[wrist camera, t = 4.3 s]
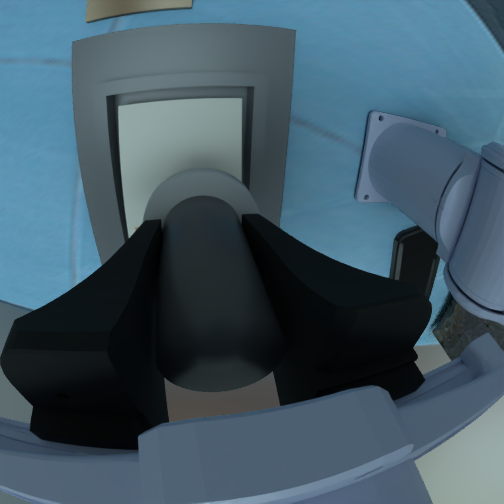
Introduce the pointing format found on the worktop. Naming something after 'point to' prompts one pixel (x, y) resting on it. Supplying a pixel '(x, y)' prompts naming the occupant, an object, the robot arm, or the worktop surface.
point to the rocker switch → (175, 145)
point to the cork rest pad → (130, 7)
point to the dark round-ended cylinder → (210, 286)
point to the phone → (415, 259)
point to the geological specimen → (464, 330)
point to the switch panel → (177, 88)
